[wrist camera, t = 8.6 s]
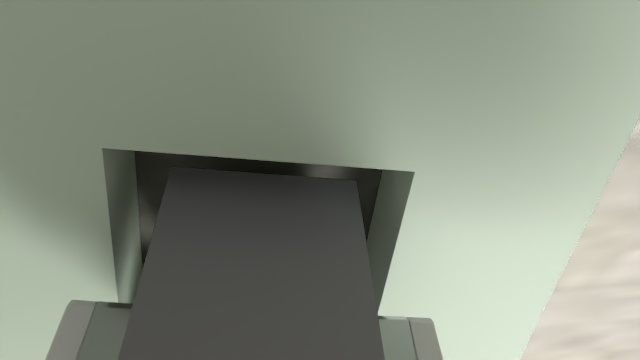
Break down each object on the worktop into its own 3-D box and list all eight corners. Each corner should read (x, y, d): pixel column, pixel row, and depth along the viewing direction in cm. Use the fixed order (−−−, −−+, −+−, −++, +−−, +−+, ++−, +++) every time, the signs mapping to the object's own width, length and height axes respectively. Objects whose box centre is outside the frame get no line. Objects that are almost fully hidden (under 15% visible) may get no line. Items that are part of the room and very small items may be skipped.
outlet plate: (631, -49, 12) (725, 8, 9) (454, 380, 20) (479, 474, 18) (-120, -140, 10) (-253, -101, 8) (17, 363, 19) (-27, 464, 16)
